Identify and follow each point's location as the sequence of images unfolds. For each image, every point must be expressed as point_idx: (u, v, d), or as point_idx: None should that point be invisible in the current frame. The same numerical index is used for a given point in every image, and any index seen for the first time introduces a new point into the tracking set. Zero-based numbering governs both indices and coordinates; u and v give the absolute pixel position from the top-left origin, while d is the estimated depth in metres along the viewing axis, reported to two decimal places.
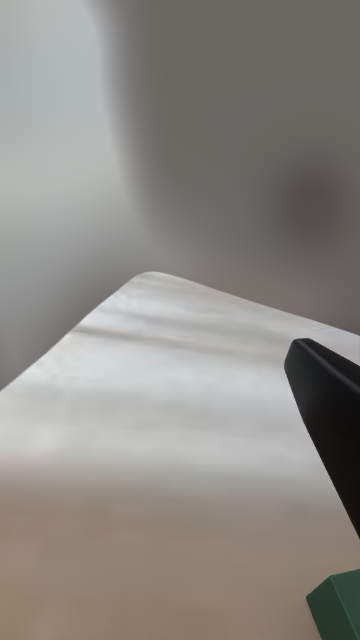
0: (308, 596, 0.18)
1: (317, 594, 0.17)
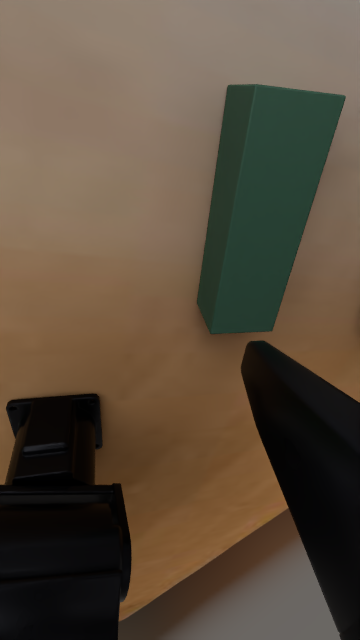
0: (230, 87, 0.15)
1: (237, 92, 0.14)
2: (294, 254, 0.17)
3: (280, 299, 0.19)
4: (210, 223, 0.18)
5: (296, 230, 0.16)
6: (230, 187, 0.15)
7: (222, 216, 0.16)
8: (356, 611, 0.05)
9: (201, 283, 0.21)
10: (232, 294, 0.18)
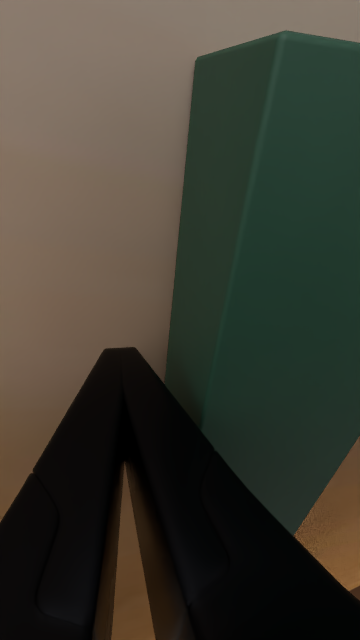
0: (200, 61, 0.05)
1: (217, 73, 0.05)
2: (351, 443, 0.08)
3: (313, 502, 0.09)
4: (171, 351, 0.09)
5: None
6: (202, 327, 0.06)
7: (188, 372, 0.07)
8: None
9: None
10: None
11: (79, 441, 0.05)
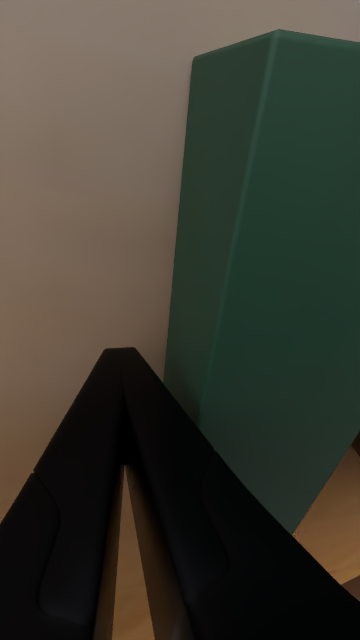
0: (197, 60, 0.05)
1: (212, 71, 0.05)
2: (349, 442, 0.08)
3: (311, 501, 0.09)
4: (169, 350, 0.09)
5: (359, 406, 0.07)
6: (199, 326, 0.06)
7: (186, 371, 0.07)
8: None
9: None
10: None
11: (80, 441, 0.05)
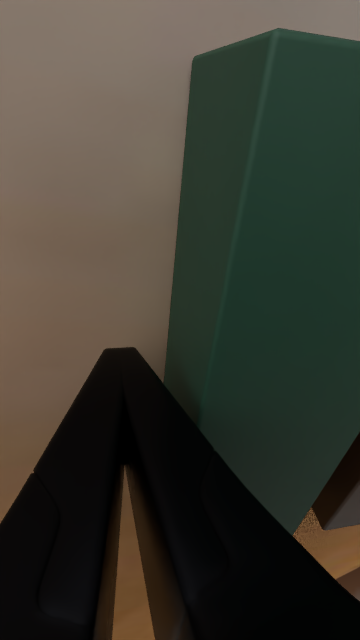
0: (197, 60, 0.05)
1: (212, 72, 0.05)
2: (350, 442, 0.08)
3: (312, 501, 0.09)
4: (170, 350, 0.09)
5: None
6: (199, 326, 0.06)
7: (187, 371, 0.07)
8: None
9: None
10: None
11: (79, 441, 0.05)
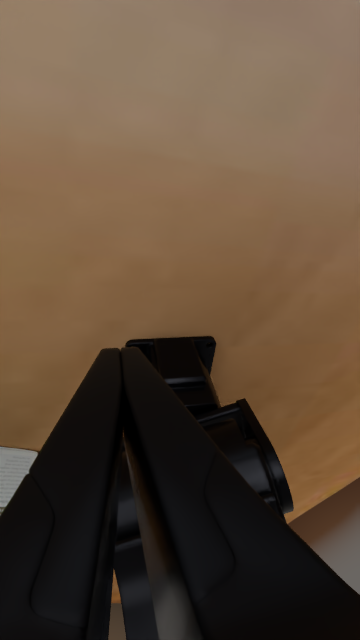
0: None
1: None
2: None
3: None
4: None
5: None
6: None
7: None
8: None
9: None
10: None
11: (75, 441, 0.05)
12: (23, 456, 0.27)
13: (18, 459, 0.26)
